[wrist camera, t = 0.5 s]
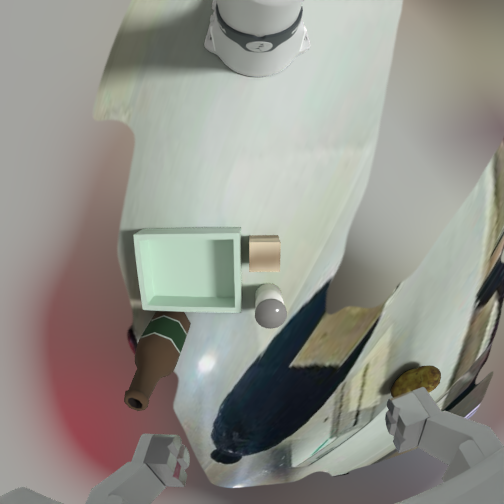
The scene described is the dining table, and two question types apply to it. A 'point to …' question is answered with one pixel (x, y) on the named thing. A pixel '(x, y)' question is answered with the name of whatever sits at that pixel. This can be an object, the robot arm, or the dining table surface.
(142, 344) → the beer bottle
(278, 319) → the white jar
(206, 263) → the tote
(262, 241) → the beech cube
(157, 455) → the robot arm
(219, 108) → the dining table surface
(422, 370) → the potato
